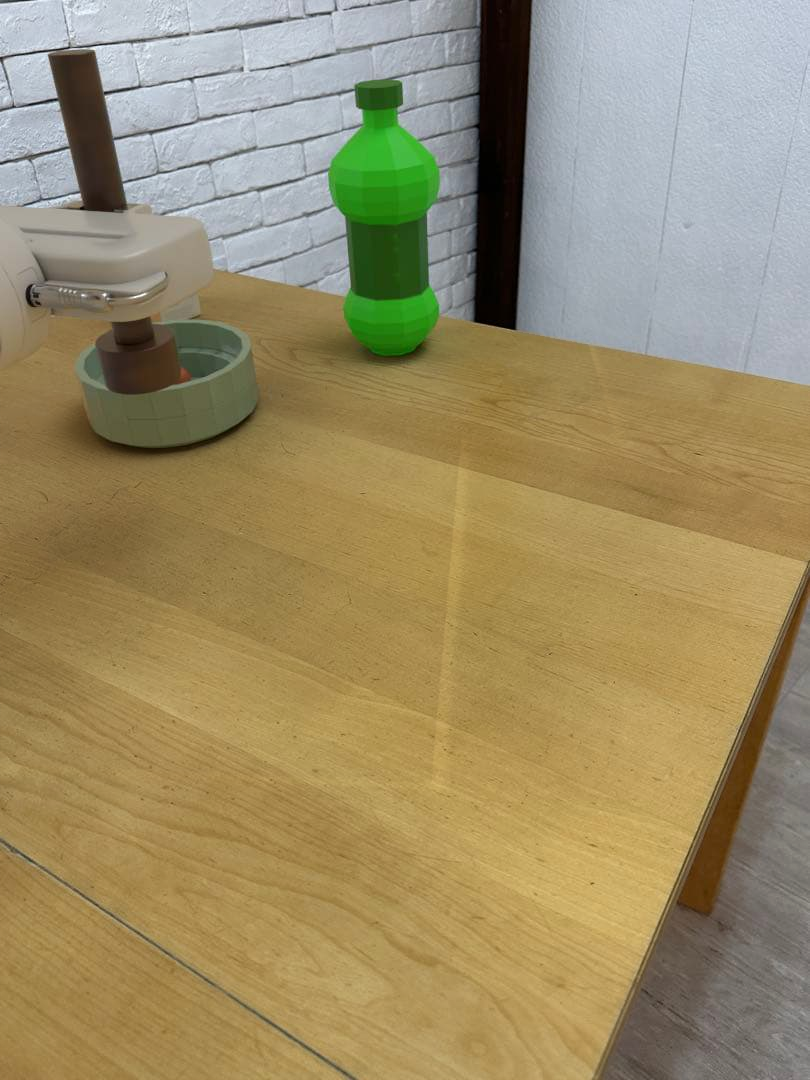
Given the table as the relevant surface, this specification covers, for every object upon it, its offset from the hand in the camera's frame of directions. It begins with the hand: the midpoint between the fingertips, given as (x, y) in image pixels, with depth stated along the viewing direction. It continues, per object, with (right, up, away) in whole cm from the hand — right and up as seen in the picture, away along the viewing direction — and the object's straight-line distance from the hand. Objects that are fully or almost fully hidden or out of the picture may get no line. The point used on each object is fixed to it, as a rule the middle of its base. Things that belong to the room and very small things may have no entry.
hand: (116, 215), depth 57 cm
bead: (-3, -5, +29) cm, 30 cm away
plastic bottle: (+17, 0, +38) cm, 42 cm away
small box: (-10, +6, +49) cm, 50 cm away
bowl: (-3, -9, +28) cm, 30 cm away
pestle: (0, -9, +5) cm, 11 cm away
